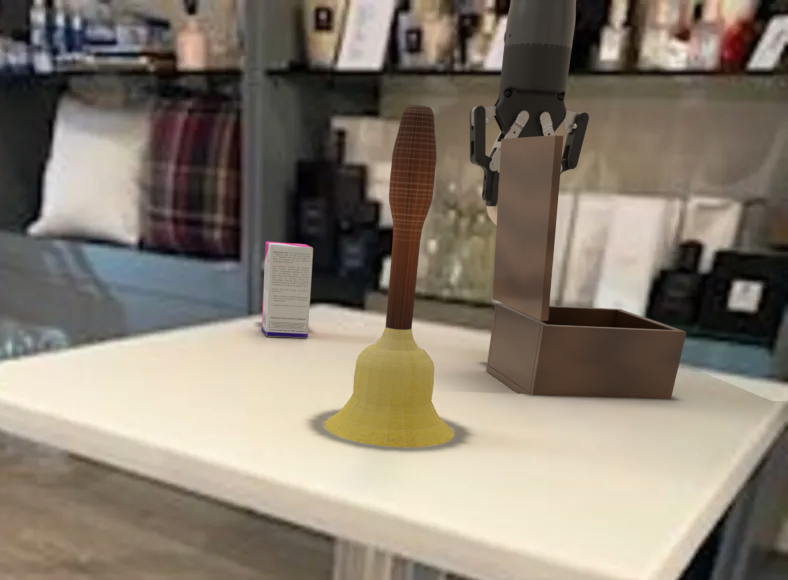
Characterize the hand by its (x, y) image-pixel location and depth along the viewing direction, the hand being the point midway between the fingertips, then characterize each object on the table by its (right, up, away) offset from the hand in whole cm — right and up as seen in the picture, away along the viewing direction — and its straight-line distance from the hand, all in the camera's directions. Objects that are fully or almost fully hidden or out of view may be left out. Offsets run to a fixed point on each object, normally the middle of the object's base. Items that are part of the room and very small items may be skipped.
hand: (517, 207), depth 106 cm
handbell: (-17, -34, -30) cm, 49 cm away
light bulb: (-1, -3, +1) cm, 3 cm away
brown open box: (+5, -23, -7) cm, 25 cm away
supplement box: (-29, -12, +13) cm, 34 cm away
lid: (-2, -9, -15) cm, 18 cm away
